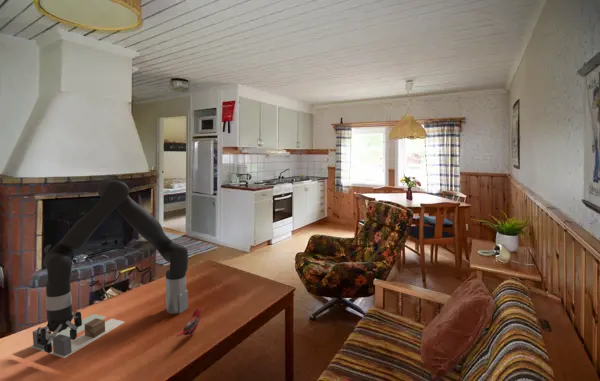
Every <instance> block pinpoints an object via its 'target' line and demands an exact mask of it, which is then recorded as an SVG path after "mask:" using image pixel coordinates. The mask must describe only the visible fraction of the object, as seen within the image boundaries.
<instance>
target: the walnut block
mask: <svg viewBox="0 0 600 381" xmlns="http://www.w3.org/2000/svg"><path fill="white" fill-rule="evenodd" d="M105 322H106V320H105V319H103V320H101V319H97V318H95V319H93V320H91V321H90V322H88V323H86V324H84V325H85V329H84V334H85V336H88V337H92V338H95V337H97V336H98V335H100V334H102V333H104V332H105Z"/></svg>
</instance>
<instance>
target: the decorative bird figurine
mask: <svg viewBox="0 0 600 381" xmlns="http://www.w3.org/2000/svg"><path fill="white" fill-rule="evenodd" d="M201 311H202V310H201V308H199V307H197V308H196V309H195V310H194V312H193V314H192V316H191V317H190V319H189V320H188V321H187V323H186V325H185V326H184V328H183V330H182V331H181V332H179V333H178V334H177V335H176V337H180V336H189V337H188V338H191V337H193V336H194V334H195V332H196V329H197V328H198V326H199V322H200V319H201V314H202V313H201Z"/></svg>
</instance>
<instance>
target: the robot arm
mask: <svg viewBox="0 0 600 381" xmlns="http://www.w3.org/2000/svg"><path fill="white" fill-rule="evenodd" d="M129 189H130V187H129V186H128V185H127V184H126V183H125V182H123V181H122V180H117V179H113V178H112V179H111V178H110V179H109V178H108V179H104V180H101V181H100V182H99V184H98V186H97V193H98V196H99V197H100V199H99V200H98V201H97V202H96V204H95V205H94V206H93V207H92V208H91V209H90V210H89V211H88V212H87V213H86V214H84V215H83V216H82V217H80V219H78V220H77V221H76V222H75V223H74V224H73V225H72V226H71V227H70V229H69V230H68V231H67V232H66V234H65V235H64V236H63V238H61V240H59V241H58V242H57V243H56V244H55V245H54V246H53V247H52V248H51V249H50V250H49V251H48V252H47V253H46V254H45V255H44V256H43V257H44V258H43V260H42V262H43V266H44V267H45V268H46V272H47V281H46V283H45V292H46V298H45V310H46V320H47V324H46V326H43V327H41V326H40V327H38V328H37V329H36V330H37V344H40V345H44V351H43V352H45V353H46V354H50V353H51V352H52V351H53V347H52V343H51V341H52V340H53V338H54V337H55V336H56V335H57V333H59V332H61V331H62V330H65V329H67V327H68V328H70V329H71V330H70V337H71V341H72V340H75V339H76V338H78V337H77V336H78V333H77V328H78V327H79V326H81V325H82V320H83V318H82V313H81V311H80V310H79V311H77V310H74V311H73V297H72V292H71V290H72V289H71V274H72V260H71V258H70V257H71V256H72V255H73V254H74V253H75V252H76V251H78V250H80V249H81V248H83V246H84V245H85V244H86V243H87V242H88V241H89V239H90V238H91V236H92V235H93V234H94V232H95V231H96V230H97V229H98V228H99V226H101V224H102V223H103V222H104V221H105V220H106V219H107V218H108V217H109V216H110V214H111V213H112V212H114V211H115V210H116V211H117V212H118V213H119V214H120V215H121V216H122V218H124V220H125V221H126V222H127V223H128V224H129V225H130V226H131V227H132V228H133V229H134V230H135V231H136V232H137V233H138V234H139V236H141V238H143V239H144V240H146V241H147V242H148V243H149V244H150V245H151V246H153V247H154V248H155V249H156V251H157V252H158V253H159V254H160V256H161V257H162V258H163V259H164V260H165V261H167V262H168V263H169V269H167V270H166V272H165V304H166V306H165V307H166V312H167V313H168V314H171V315H173V314H174V315H175V314H182V313H183V312H185V311H186V310H188V308H189V290H188V289H187V271H188V268H189V267H188V266H189V264H188V262H189V252H188V249H187V248H186V247H185V246H184V245H182V244H179V243H176V242H175V241H173V240H172V239H171V238H169V237H168V235H166V233H165V231H164V229H163V227H162V224H161V223H160V222H159V221H158V220H157V218H156V217H155V216H154V215H152V213H151V212H149V211H148V210H147V209H145V208H144V207H142V206H141V205H140V204H138V202H136V201H135V200H133V198H131V197H130V190H129ZM72 320H73V321H74V323H72ZM47 330H48V331H47Z"/></svg>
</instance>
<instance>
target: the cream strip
mask: <svg viewBox="0 0 600 381" xmlns="http://www.w3.org/2000/svg"><path fill="white" fill-rule="evenodd" d="M122 324H125V321H124V320H119V319H115V318H110V319H108V320H105V332H104V333H102V334H100V335H98V336H97V337H95V338H92V337H88V336H85V333H83V334H81V335H79V336H78V337H76V339H75V340H71V337H68V336H64V335H61V334H59V335H57V336H55V337H54V338H53V347H52V352H51V353H49V354H50V355H53V356H57V357H59V358H62V359H66V358H68V357H69V356H71V355H72V354H74V353H76V352H77V351H79V350H80V349H82V348H84V347H86V346H88V345H90V344H91V343H93V342H94V341H96V340H97V339H99V338H101V337H103V336H104V335H105V334H108V333H109V332H111V331H113V330H114V329H116V328H118V327H119V326H121V325H122Z"/></svg>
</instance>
